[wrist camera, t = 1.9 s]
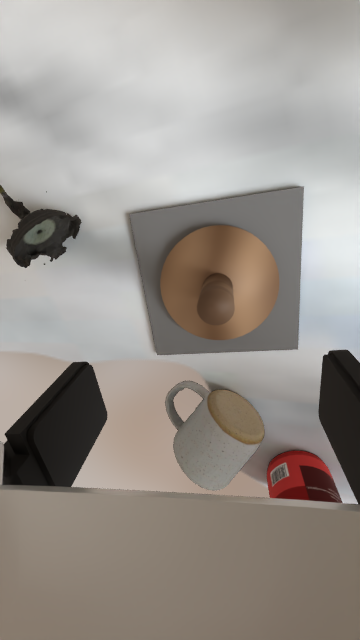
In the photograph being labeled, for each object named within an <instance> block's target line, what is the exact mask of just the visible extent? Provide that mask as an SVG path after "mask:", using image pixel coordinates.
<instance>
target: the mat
mask: <svg viewBox="0 0 360 640" xmlns="http://www.w3.org/2000/svg"><path fill="white" fill-rule="evenodd" d="M303 193H304V187H297V188H291V189H285V190H278V191H272V192H265V193H259V194H253V195H246V196H240V197H234V198H227V199H221V200H215V201H208V202H202V203H196V204H189V205H183V206H176V207H170V208H164V209H157V210H151V211H145V212H138V213H132V214H129V216H130V221H131V226H132V231H133V236H134V241H135V246H136V251H137V256H138V261H139V266H140V271H141V277H142V282H143V287H144V292H145V297H146V302H147V307H148V312H149V317H150V322H151V327H152V332H153V338H154V343H155V348H156V353H157V355H172V354H196V353H220V352H244V351H268V350H292V349H298V330H299V303H300V275H301V248H302V220H303ZM213 225H229V226H234V227H238V228H241V229H244V230H246V231H248V232H250V233H251V234H253V235H254V236H256V237H257V238H258V239H259V240H261V241H262V242H263V243H264V244H265V245H266V247H267V248H268V249H269V251H270V252H271V254H272V256H273V257H274V259H275V262H276V265H277V268H278V272H279V292H278V297H277V300H276V303H275V305H274V307H273V309H272V311H271V312H270V314H269V315H268V317H267V318H266V319H265V320H264V321H263V322H262V323H261V324H260V325H259V326H258V327H257V328H255V329H254V330H252V331H251V332H249V333H247V334H245V335H243V336H240V337H237V338H234V339H229V340H209V339H205V338H201V337H198V336H195V335H193V334H191V333H189V332H188V331H186V330H185V329H183V328H182V327H181V326H179V325H178V324H177V323H176V322H175V321H174V319H173V318H172V317H171V316H170V314H169V313H168V311H167V309H166V307H165V305H164V302H163V299H162V295H161V288H160V279H161V272H162V269H163V265H164V263H165V261H166V258H167V256H168V255H169V253H170V252H171V250H172V249H173V248H174V247H175V245H176V244H177V243H178V242H179V241H181V240H182V239H183V238H184V237H186V236H187V235H189V234H190V233H192V232H194V231H196V230H198V229H201V228H204V227H208V226H213Z"/></svg>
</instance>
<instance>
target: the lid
mask: <svg viewBox="0 0 360 640" xmlns="http://www.w3.org/2000/svg"><path fill="white" fill-rule="evenodd" d="M160 288H161V295H162V299H163V302H164V305H165V307H166V309H167V311H168V313H169V314H170V316H171V317H172V318H173V319H174V321H175V322H176V323H177V324H178V325H179V326H181V327H182V328H183V329H185V330H186V331H188V332H189V333H191V334H193V335H195V336H198V337H201V338H205V339H209V340H229V339H234V338H237V337H240V336H243V335H245V334H247V333H249V332H251V331H252V330H254V329H255V328H257V327H258V326H259V325H260V324H261V323H262V322H263V321H264V320H265V319H266V318H267V317H268V315H269V314H270V312H271V311H272V309H273V307H274V305H275V303H276V300H277V297H278V292H279V272H278V268H277V265H276V262H275V259H274V257H273V256H272V254H271V252H270V251H269V249H268V248H267V247H266V245H265V244H264V243H263V242H262V241H261V240H259V239H258V238H257V237H256V236H254V235H253V234H251V233H250V232H248V231H246V230H244V229H241V228H238V227H234V226H229V225H213V226H208V227H204V228H201V229H198V230H196V231H194V232H192V233H190V234H189V235H187V236H186V237H184V238H183V239H182V240H181V241H179V242H178V243H177V244H176V245H175V247H174V248H173V249H172V250H171V252H170V253H169V255H168V256H167V258H166V261H165V263H164V265H163V269H162V272H161V279H160Z"/></svg>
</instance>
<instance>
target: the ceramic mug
mask: <svg viewBox="0 0 360 640" xmlns="http://www.w3.org/2000/svg"><path fill="white" fill-rule="evenodd" d="M184 388H189V389H192V390H193V391H195V392H196V393H198V394H199V395H200V396H201V397H202V398H203V400H202V402H201V403H200V404H199V405H198V407H197V408H196V410H195V411H194V412H193V413H192V414H191V415H190V416H189V418H188V419H187V420H186V422H185V423H184V422H183V421H182V419H181V418H180V417H179V415H178V414H177V412H176V410H175V407H174V402H173V399H174V397H175V395H176V394H177V393H178V392H179V391H180V390H183V389H184ZM165 405H166V411H167V413H168V416H169V418H170V420H171V422H172V423H173V425H174V426H175V427H176V428H177V430H178V432H177V433H176V435H175V438H174V444H173V448H174V453H175V457H176V459H177V462H178V463H179V465H180V467H181V469H182V470H183V472H184V473H185V474H186V475H187V477H188V478H189V479H190V480H191V481H193V482H194V483H195V484H197V485H199V486H200V487H202V488H205V489H207V490H213V491H214V490H220V489H223V488H225V487H226V486H227V485H228V484H229V483H230V481H231V480H232V479H233V478H234V477H235V475H236V474H237V473H238V472H239V471H240V470H241V468H242V467H243V466H244V465H245V463H246V462H247V461H248V460H249V458H250V457H251V456H252V455H253V454H254V453H255V452H256V450H257V449H258V447H259V445H260V443H261V442H262V440H263V437H264V425H263V422H262V419H261V417H260V415H259V414H258V412H257V411H256V410H255V408H254V407H253V406H252V405H251V404H250V403H249V402H248V401H247V400H246V399H244V398H243V397H241V396H240V395H238V394H236V393H234V392H231V391H228V390H215V391H213V392H211V393H209V392H208V391H207V390H206V389H205V388H204V387H203V386H201V385H199V384H198V383H195V382H193V381H183V382H181V383H178V384H177V385H176V386H175V387H173V388H172V389H171V390H170V391H169V393H168V395H167V397H166V401H165Z"/></svg>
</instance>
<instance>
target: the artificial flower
mask: <svg viewBox="0 0 360 640" xmlns="http://www.w3.org/2000/svg"><path fill="white" fill-rule="evenodd" d="M46 192H47V191H46ZM0 193H1V195H2V196H3V198H4V200H5V203H6V204H7V206H8V207H9V208H10V209H11V211H12V212H13V213H14V214H16V215H17V216H18V217H19V218H20V219H22V220H21V221H20V222H19V223H18V228H19V229H15V230H13V234H12V236H11V239H7V245H6V246H7V248H6V249H7V250H8V252H9V253H10V254H11V255H12V257H13V259H14V261H15V262H16V263H17V264H18V265H20V266H21V267H25V268H27V267H28V266H29V265H30V262H31V260H33V259H36V258H38V256H39V255H47V256H50V257H51V260H50V261H51V262H52V261H53V258H55V260H56V259H57V258H58V257H59V256H60V255H62V254H63V253H65V252H66V247H63V246H62V242H64V241H65V240H66V238H68V237H70V236H72V237H73V239H75V238H76V235H77V233H78V231H79V228H80V226H79V225H80V224H81V223H82V222H81V219H79V217H78V216H77V215H75V216H74V217H71V216H70V215H69V214H68V213H67V215H66V214H65V212H62V211H58V210H50V209H46V210H43V209H41V210H37V211H34V212H32V213H30V211H29V210H28V209H26V208H25V207H24V206H23V203H22V202H16V201H13V199H12V198H11V197H9V196H8V195H7V193H6V192H5V191H4V189H3V188H2V186H1V185H0ZM44 265H45V264H44Z"/></svg>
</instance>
